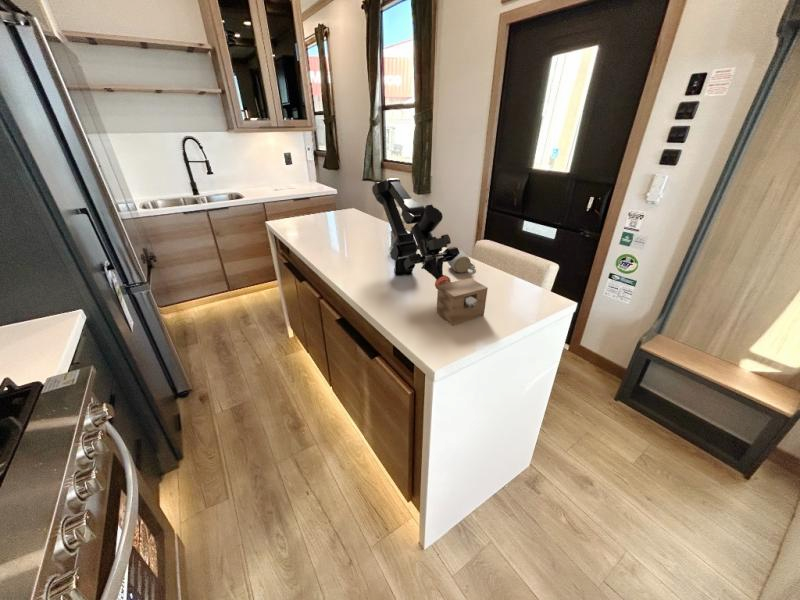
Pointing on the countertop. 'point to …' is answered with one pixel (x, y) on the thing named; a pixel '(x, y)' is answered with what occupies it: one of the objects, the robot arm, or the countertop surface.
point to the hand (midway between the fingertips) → (441, 281)
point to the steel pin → (444, 280)
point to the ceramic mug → (461, 263)
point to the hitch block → (460, 301)
